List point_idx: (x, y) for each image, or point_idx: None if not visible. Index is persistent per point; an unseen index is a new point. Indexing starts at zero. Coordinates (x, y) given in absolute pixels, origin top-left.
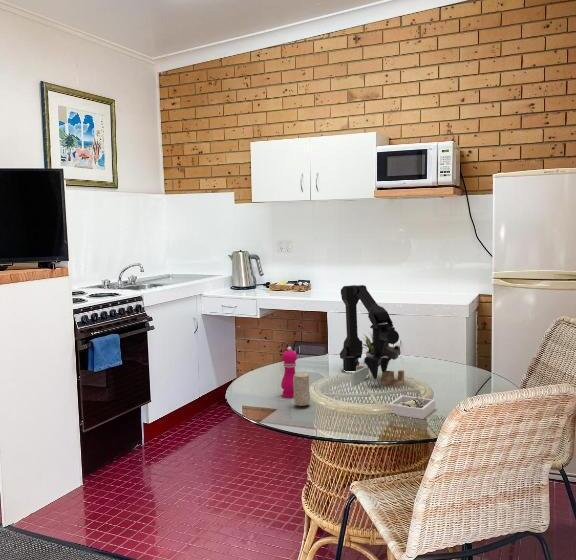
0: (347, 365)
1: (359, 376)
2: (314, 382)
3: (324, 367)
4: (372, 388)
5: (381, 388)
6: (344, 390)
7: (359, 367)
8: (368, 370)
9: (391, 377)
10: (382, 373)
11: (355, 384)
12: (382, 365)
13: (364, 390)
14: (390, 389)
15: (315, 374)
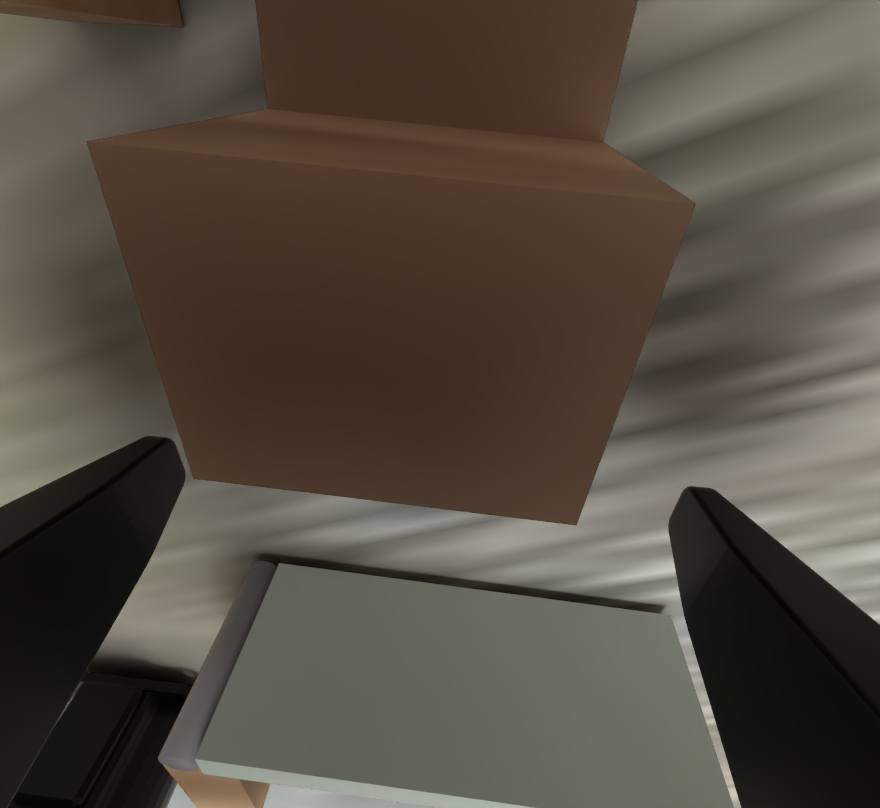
0: (166, 799)
1: (521, 692)
2: None
3: (177, 790)
4: (717, 412)
5: (694, 272)
6: None
7: (253, 785)
8: (211, 680)
9: (441, 140)
10: (581, 486)
11: (632, 620)
12: (24, 687)
13: (863, 480)
14: (766, 23)
15: (370, 802)
